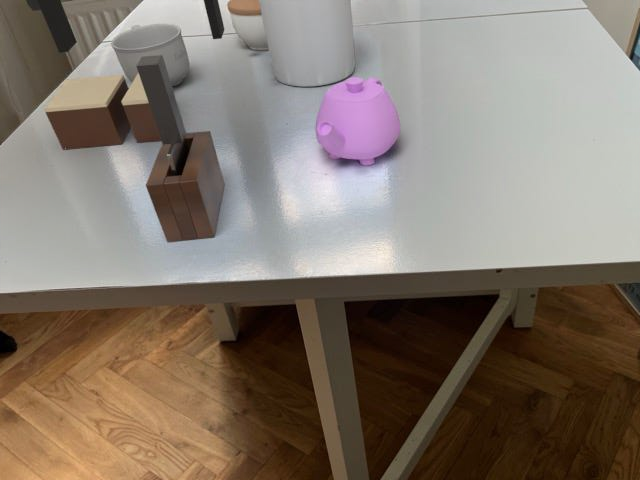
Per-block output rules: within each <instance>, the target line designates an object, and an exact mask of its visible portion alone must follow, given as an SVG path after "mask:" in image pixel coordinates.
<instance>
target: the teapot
mask: <svg viewBox="0 0 640 480" xmlns="http://www.w3.org/2000/svg"><path fill="white" fill-rule="evenodd" d="M398 113H399V112H398V111H397V108H396V105H395V103H394V101H393V100H392V98H391V96H390V94H389V93H388V91H387V90H386V89H385V87H384V86H383V83H382V81H381V80H380V79H378V78H377V77H369V78H367V79H366V80H364V79H363V78H362V77H358V76H352V77H347V78H345V79H344V80H342V81H339V82H337V83H335V84H334V85H333V86H331V87H330V88H329V89H328V90H327V91H326V92H325V94H324V96H323V98H322V100H321V103H320V106H319V108H318V112H317V115H316V118H315V138H316V141H317V143H318V144H319V145H320V146H321V148H323V149H324V150H325V151H326V152H327V153H328V157H329V158H330V159H332V160H338V159H341V158H343V159H348V160H359V164H360V165H361V166H371V165H373V164H375V158H379V157H380V156H382V155H383V154H385V153H386V152H388V151H389V150H390V149H391V148H392V146H393V145H394V143H395V142H396V141H397V139H398V138H399V137H400V134H401V120H400V117H399V114H398Z"/></svg>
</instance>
